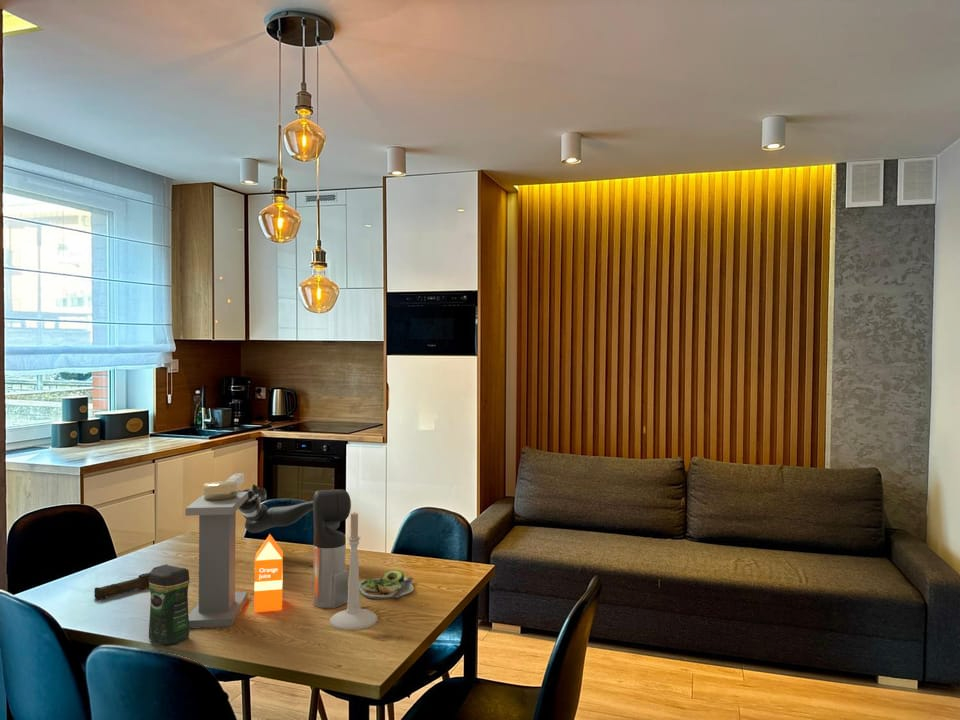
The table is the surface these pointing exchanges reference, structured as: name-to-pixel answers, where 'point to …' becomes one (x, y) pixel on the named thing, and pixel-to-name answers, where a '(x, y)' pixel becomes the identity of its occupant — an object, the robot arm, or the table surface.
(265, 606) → the orange juice
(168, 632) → the coffee jar
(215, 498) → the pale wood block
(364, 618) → the candlestick
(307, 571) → the table surface
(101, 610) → the table surface
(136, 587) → the hand tool
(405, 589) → the avocado toast plate
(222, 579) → the shelf
